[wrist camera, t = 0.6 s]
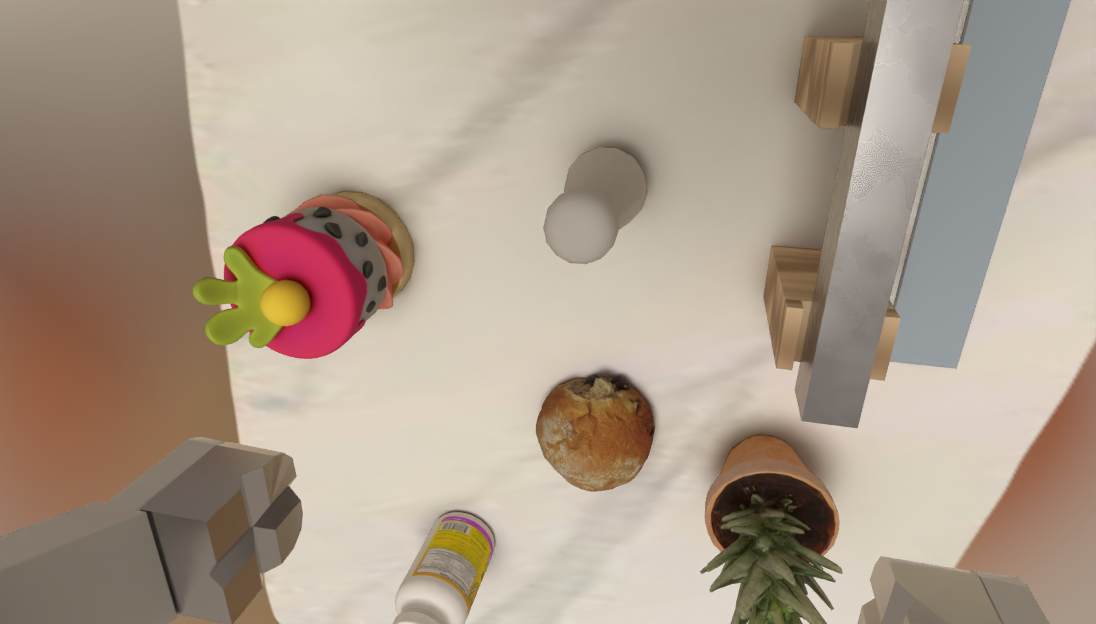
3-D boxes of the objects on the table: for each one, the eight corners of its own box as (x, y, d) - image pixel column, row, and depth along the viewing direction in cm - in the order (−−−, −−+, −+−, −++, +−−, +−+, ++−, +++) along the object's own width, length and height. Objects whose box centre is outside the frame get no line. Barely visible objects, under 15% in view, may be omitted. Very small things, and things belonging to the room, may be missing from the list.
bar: (871, -3, 31) (888, -5, 28) (939, -3, 31) (964, -5, 27) (794, 389, 40) (801, 421, 37) (846, 396, 40) (857, 428, 37)
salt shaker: (632, 128, 46) (605, 165, 34) (661, 202, 48) (645, 260, 36) (559, 160, 48) (510, 205, 36) (589, 230, 50) (552, 293, 38)
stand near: (805, 36, 41) (833, 42, 31) (907, 38, 40) (971, 45, 30) (794, 102, 43) (818, 127, 33) (892, 105, 42) (948, 133, 32)
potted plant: (849, 475, 53) (944, 795, 31) (754, 526, 57) (779, 840, 35) (770, 392, 52) (811, 666, 30) (679, 450, 56) (656, 728, 34)
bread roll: (542, 388, 61) (501, 455, 56) (592, 343, 53) (549, 417, 48) (625, 449, 62) (591, 521, 57) (688, 414, 53) (654, 495, 49)
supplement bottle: (466, 569, 68) (416, 680, 56) (422, 526, 67) (362, 630, 55) (510, 543, 65) (466, 655, 53) (464, 498, 64) (410, 602, 52)
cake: (376, 165, 52) (258, 216, 38) (440, 280, 54) (352, 365, 41) (282, 216, 55) (146, 278, 42) (347, 320, 58) (238, 410, 45)
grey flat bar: (979, -36, 38) (983, -37, 37) (1077, -37, 37) (1082, -37, 36) (880, 357, 48) (882, 360, 48) (954, 365, 47) (956, 368, 47)
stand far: (771, 246, 47) (787, 307, 37) (860, 253, 46) (900, 318, 36) (763, 296, 49) (776, 368, 39) (848, 304, 47) (884, 380, 38)
